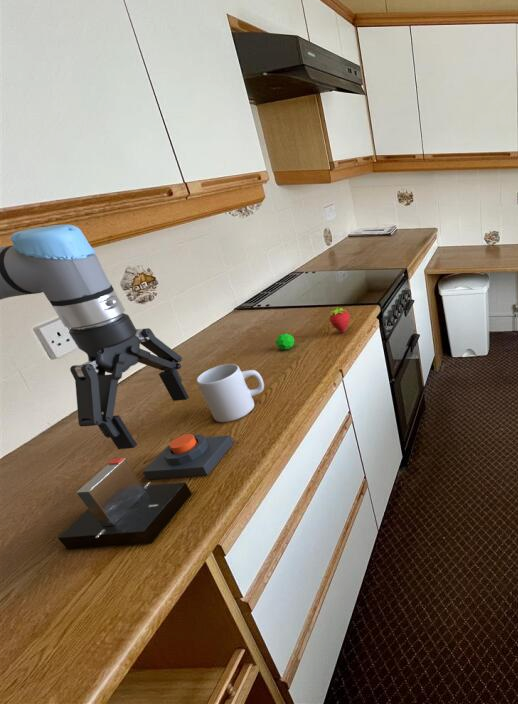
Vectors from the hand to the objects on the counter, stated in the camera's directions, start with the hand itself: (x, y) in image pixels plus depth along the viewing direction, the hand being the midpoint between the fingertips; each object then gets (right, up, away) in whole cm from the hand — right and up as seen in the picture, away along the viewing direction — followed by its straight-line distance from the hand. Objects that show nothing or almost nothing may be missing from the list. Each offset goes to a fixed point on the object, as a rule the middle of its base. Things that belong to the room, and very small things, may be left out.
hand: (156, 421), depth 77 cm
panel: (0, -16, -5) cm, 17 cm away
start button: (0, -7, +6) cm, 9 cm away
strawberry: (+11, +15, +58) cm, 61 cm away
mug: (+1, -3, +23) cm, 23 cm away
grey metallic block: (0, -14, -6) cm, 15 cm away
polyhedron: (-3, +10, +50) cm, 51 cm away
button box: (+1, -10, +8) cm, 13 cm away
